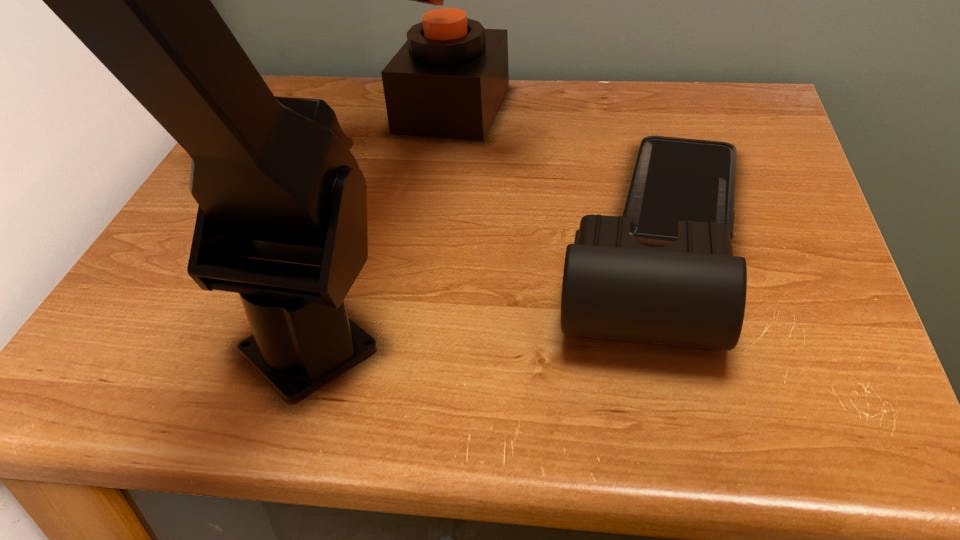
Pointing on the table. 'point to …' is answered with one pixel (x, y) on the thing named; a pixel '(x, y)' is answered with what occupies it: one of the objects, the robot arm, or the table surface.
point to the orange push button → (445, 24)
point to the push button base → (447, 84)
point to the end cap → (654, 285)
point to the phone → (680, 187)
